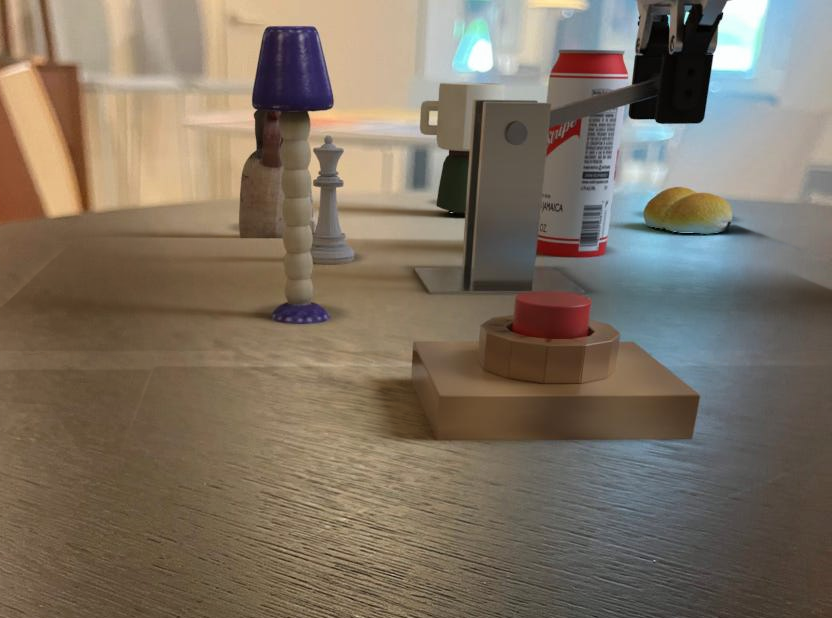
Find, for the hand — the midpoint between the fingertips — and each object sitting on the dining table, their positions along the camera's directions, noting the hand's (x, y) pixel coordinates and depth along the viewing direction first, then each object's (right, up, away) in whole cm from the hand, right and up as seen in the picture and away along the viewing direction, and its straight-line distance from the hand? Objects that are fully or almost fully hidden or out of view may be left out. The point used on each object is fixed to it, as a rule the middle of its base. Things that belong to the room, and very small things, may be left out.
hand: (664, 118), depth 70 cm
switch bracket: (-11, -11, +5) cm, 16 cm away
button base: (-12, -25, -19) cm, 33 cm away
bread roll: (+14, +7, +37) cm, 40 cm away
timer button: (-12, -21, -21) cm, 32 cm away
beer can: (-3, -4, +18) cm, 19 cm away
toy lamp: (-25, -17, -6) cm, 31 cm away
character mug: (-9, +12, +45) cm, 47 cm away
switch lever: (-6, -1, 0) cm, 6 cm away
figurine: (-29, +1, +26) cm, 39 cm away
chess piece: (-24, -6, +12) cm, 27 cm away
